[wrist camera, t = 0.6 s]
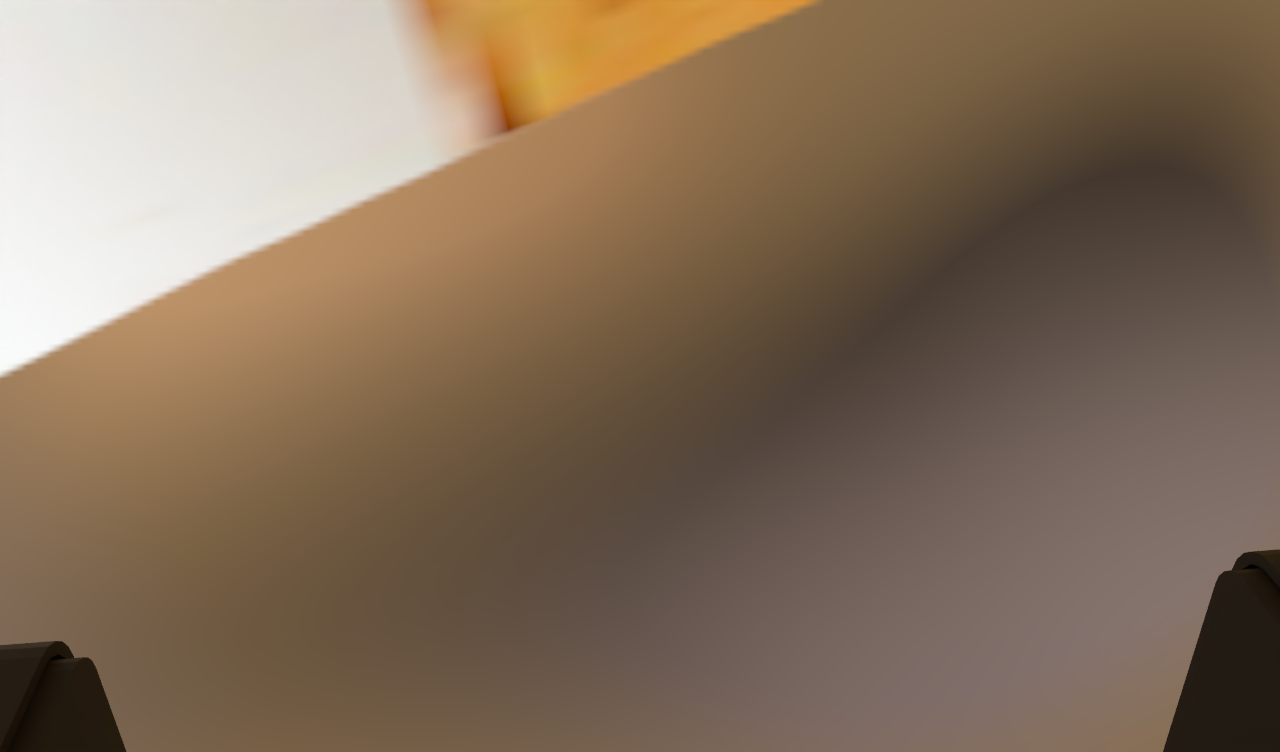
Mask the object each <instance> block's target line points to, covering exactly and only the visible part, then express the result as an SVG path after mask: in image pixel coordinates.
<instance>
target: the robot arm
mask: <svg viewBox="0 0 1280 752" xmlns="http://www.w3.org/2000/svg"><path fill="white" fill-rule="evenodd" d="M0 752H126V750H125V747H124V744H123V741H122V738H121V736H120V733H119V730H118V727H117V725H116V722H115V719H114V716H113V714H112V711H111V708H110V705H109V703H108V700H107V697H106V694H105V691H104V689H103V686H102V683H101V680H100V678H99V675H98V672H97V669H96V667H95V665H94V663H93V661H92V660H90V659H89V658H74V656H73V654H72V652H71V651H70V649H69V647H68V646H67V645H66V644H65V643H63V642H62V641H53V642H39V643H25V644H12V645H0ZM1163 752H1280V550H1268V551H1255V552H1247V553H1243V554H1242V555H1241V556H1240V557H1239V558H1238V559H1237V560H1236V562H1235V564H1234V567H1233V569H1232V570H1231V571H1224V572H1223V573H1222V574H1221V575H1220V576H1219V577H1218V579H1217V581H1216V584H1215V587H1214V590H1213V593H1212V597H1211V600H1210V603H1209V606H1208V610H1207V612H1206V616H1205V619H1204V622H1203V625H1202V628H1201V632H1200V635H1199V638H1198V641H1197V644H1196V648H1195V651H1194V655H1193V657H1192V660H1191V664H1190V667H1189V670H1188V673H1187V676H1186V680H1185V683H1184V686H1183V689H1182V693H1181V696H1180V699H1179V702H1178V705H1177V708H1176V712H1175V715H1174V718H1173V722H1172V725H1171V728H1170V731H1169V734H1168V737H1167V741H1166V744H1165V747H1164V750H1163Z"/></svg>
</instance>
